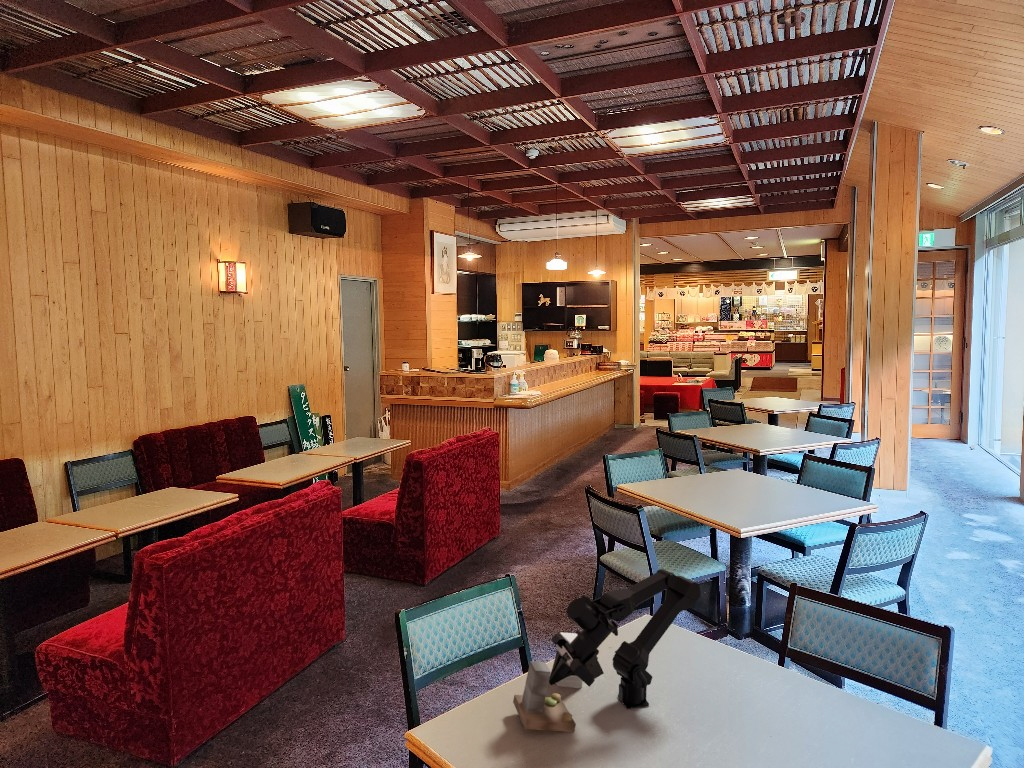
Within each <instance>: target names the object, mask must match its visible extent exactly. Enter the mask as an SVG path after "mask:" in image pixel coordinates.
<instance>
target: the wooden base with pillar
mask: <svg viewBox="0 0 1024 768" xmlns="http://www.w3.org/2000/svg"><path fill="white" fill-rule="evenodd" d="M527 671H528V672H527V675H526V679H525V680H526V681H525V686H524V689H523V694H514V696H513V701H512V703H513V705H514V707H515V709H516V712H517V714H518V716H519V718H520V721H521V723H522V725H523V728H524V729H525V730H539V731H553V732H554V731H555V732H567V733H568V732H569V733H570V732H571V733H574V732H575V730H576V726H577V724H576V722H575V720H574V718H573V715H572V713H570V712H569V709H568V708H567V707H566V705H565V703H564V701H563V699H562V696H561V694H559V693H555V692H553V693H552V694H551V696H547V693H548V692H547V691H548V688H549V678H550V674H551V671H552V670H550V668H549V666H548V665H547V663H546V662H545V661H538V660H537V661H536V660H530V661H529V666H528V670H527Z"/></svg>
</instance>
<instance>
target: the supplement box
mask: <svg viewBox="0 0 1024 768" xmlns="http://www.w3.org/2000/svg"><path fill="white" fill-rule="evenodd" d="M559 633H560V634H561V635H563V636H564V637H565V638H566V639H567V640H568V641H569V642H570V643H571V642H572V641H573V640H574V639H575V637H576V636H577V634H576V632H574V633H573V632H562V631H561V632H559ZM556 650H558V651H560V650H561V648H560V647H559V646H558V645H557V644H556ZM555 685H556V686H557V687H563V688H573V689H582V688H583V681H582V680H581V679H580V678H579V677H577V676H569V677H566V678H564V679H563V680H561V681H559V682H557V683H555Z"/></svg>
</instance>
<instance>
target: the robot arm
mask: <svg viewBox="0 0 1024 768" xmlns="http://www.w3.org/2000/svg"><path fill="white" fill-rule="evenodd" d="M663 591H665V597H664V601H663V602H662V604H660V606H659V607H658V609H657V610H656V611H655V613H654V614H653V615H652V617H651V618H650V620H649V621H648V622H647V623H646V625H645V626H644V627H643V629H641V631H640V632H639V634H638V635H637V637H636V638H635V639H634V640H633V641H631V642H628V641H623V642H621V643H620V646H619V647H618V648H617V649H616V650H615V651H614V653H615V654H614V655H613V657H612V667H613V669H614V670H615V672H616V674H617V675H618V676H620V683H619V684H618V694H617V698H618V699H619V700H620V702H621V703H622V704H623V706H624V707H625V709H628V710H630V709H637V708H644V707H649V706H650V703H649V701H648V700H647V688H648V686H649V685H651V683H652V679H653V676H652V674H651V673H649V672H648V671H647V669H648V666H649V658H650V654H651V652H652V651H653V649H654V648H655V646H656V645H657V644H658V643H659V641H660V640H661V638H662V637H663V635H664V634H665V633H666V632H667V630H668V629H669V628H670V627H671V625H672V623H673V622H674V621H675V620H676V618H677V617H678V616H679V614H680V613H681V612H684V611H686V610H688V609H690V608H692V607H693V605H694V604H695V603H697V602H698V601H699V599H700V597H701V592H702V591H701V586H700V584H699V583H698V582H697V581H693V580H691V579H689V578H687V577H685V576H682V575H680V574H679V575H676V574H675V573H673V572H672V571H670V570H666V569H664V568H660V569H658V570H657V571H656V572H655V573H653V574H652V575H649V576H648V577H645V578H644V579H642V580H640V581H639V582H637V583H635V584H633V585H631V586H630V587H629V586H628V587H627V588H624V589H613V590H611V591H607V592H605V593H603V594H602V595H601V596H599V597H597V598H595V599H593V600H592V599H590V598H589V597H588V596H587V595H585V594H582V595H581V596H580V597H579V598H575V599H573V600H572V601H571V602H570V603H569V604H568V606H567V608H566V615H567V617H568V618H569V619H570V620H571V621H573V622H574V623H575V624H576V625H577V626H578V627H579V628H581V631H580V630H579V629H577V630H576V631H575V633H576V634H577V636H576V637H575V639H574V640H573V641H572V642H571V643H570V642H569V641H568V640H567V639H566V638H565V637H564V636H563V635H561V634H560V632H558V633H555V634H554V635H553V636H552V637H551V639H550V640H551V641H552V644H554V645H556V646H557V645H558V646H559V647H560V648H561V650H560V651H558V650H557V649H556V651H555V657H554V660H553V661H554V662H553V665H552V668H551V670H550V671H551V673H550V678H549V683H548V685H550V686H554V685H556V683H557V682H559V681H561V680H563V679H564V678H566V677H569V676H577V677H579V678H580V679H581V680H582V683H583V682H584V684H586V685H587V687H591V686H592V685H593V684H594V682H595V680H596V679H597V678H599V677H600V676H602V675H604V674H605V673H604V671H603V668H602V666H601V664H600V662H599V660H598V659H599V657H598V655H599V654H600V650H599V649H598V648H599V647H600V646H601V645H602V643H603V642H605V640H606V639H607V638H608V637H609V636H610V635H611V633H612V634H613V635H614V636H615V637H617V636H619V630H618V627H619V625H618V624H617V623H621V622H623V621H624V620H626V618H629V617H630V616H631V615H632V614H633V612H634V611H635V608H636V607H637V606H638V605H640V604H643V603H644V602H645V601H647V600H649V599H651V598H653V597H655V596H656V595H658V594H661V593H662V592H663ZM610 620H612V621H610Z"/></svg>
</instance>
